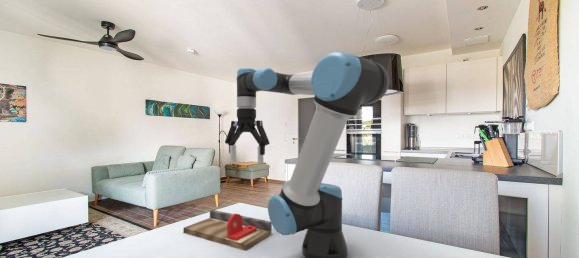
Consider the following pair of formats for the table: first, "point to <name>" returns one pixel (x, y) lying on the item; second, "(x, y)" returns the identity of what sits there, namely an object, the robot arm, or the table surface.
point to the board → (217, 230)
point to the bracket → (238, 228)
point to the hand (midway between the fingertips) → (246, 162)
